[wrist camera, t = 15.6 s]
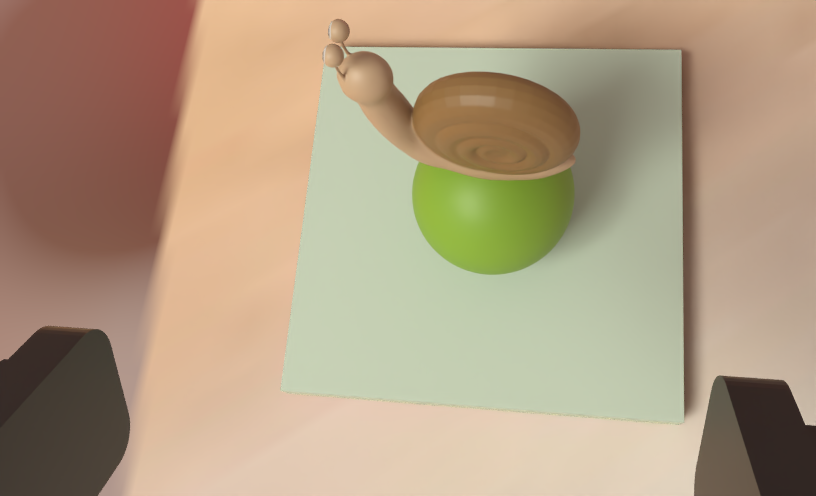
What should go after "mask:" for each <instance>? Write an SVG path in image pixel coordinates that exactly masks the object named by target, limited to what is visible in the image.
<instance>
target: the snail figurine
mask: <svg viewBox="0 0 816 496" xmlns="http://www.w3.org/2000/svg"><path fill="white" fill-rule="evenodd" d="M349 33H350V29H349V26H348V24H347V23H346V22H345V21H343V20H341V19H336V20H334V21H332V22H331V23H330V25H329V29H328V35H329V38H330V39H331V40H332V41H333V42H336V43H340V44H341V46H342V48H343V50H344V52H345V53H346V54H347V57H346V58H344V52H343V50H342V48H341V47H340V46H338V45H336V44H329V45H327V46H326V47H325V49H324V51H323V62H324V64H325V65H326V66H328V67H331V68H334V67H335V69H336V71H337V79H338V82H339V84H340V87H341V89H342V91H343V93H344V94H345V95H346V96H347V97H349V98H350V99H352V100H353V101H355V102H357V103H358V104H359V106H360V107H361V109H362V111H363V113H364V114H365V116H366V117H367V119H368V120H369V121H370V122H371V124H372V125H373V126H374V127H375V128H376V129H377V130H378V131H379V132H380V133H381V134H382V135H383V136H384V137H385V138H386V139H387V140H388V141H389V142H391V143H392V144H393V145H394V146H395V147H397V148H398V149H400V150H401V151H403V152H404V153H406V154H407V155H408V156H410V157H411V158H413V159H415V160H417V161H419V163H418V165H417V168H416V171H415V175H414V179H413V186H412V203H413V210H414V214H415V218H416V221H417V223H418V226H419V228H420V230H421V232H422V234H423V236H424V237H425V239H426V240H427V242H428V243H429V244H430V246H431V247H432V248H433V249H434V250H435V251H436V252H437V253H438V254H439V255H440V256H441V257H443V258H444V259H445V260H447V261H448V262H450V263H451V264H453V265H455V266H457V267H459V268H461V269H464V270H467V271H470V272H474V273H478V274H486V275H500V274H507V273H512V272H516V271H519V270H522V269H524V268H527V267H529V266H531V265H532V264H534V263H536V262H537V261H539V260H540V259H542V258H543V257H544V256H546V255H547V254H548V253H549V252H550V251H551V250H552V249H553V248H554V247H555V246H556V244H557V243H558V242H559V240H560V239H561V237H562V236H563V234H564V232H565V231H566V229H567V226H568V224H569V222H570V219H571V215H572V212H573V207H574V198H575V188H574V180H573V175H572V171H571V168H570V167H571V166H572V165H574V163H575V161H576V158H575V156H574V155H573V153H574V152H575V150H576V148H577V146H578V144H579V141H580V125H579V121H578V119H577V116H576V114H575V112H574V111H573V109H572V108H571V107H570V105H569V104H568V103H567V102H566V101H565V100H564V99H563V98H561V97H560V96H559V95H558V94H556V93H555V92H553V91H551V90H550V89H548V88H546V87H544V86H542V85H540V84H538V83H535V82H533V81H530V80H528V79H524V78H521V77H518V76H514V75H508V74H503V73H496V72H463V73H456V74H452V75H448V76H445V77H441V78H439V79H437V80H435V81H433V82H432V83H430V84H429V85H428V86H427V87H426V88H425V89H424V90H423V91H422V92H421V93H420V94H419V95H418V97H417V100H416V102H415V105H414V108H413V107H412V105H411V104H410V103H409V101H408V100H407V99H406V98H405V96H404V95H403V94H402V93H401V92H400V91H399V89H398V88H397V87H396V86H395V85H394V84H393V72H392V69H391V67H390V66H389V64H388V63H387V61H386V60H385V59H383V58H382V57H381V56H379V55H377V54H375V53H373V52H369V51H359V52H355V53H350V52H349V51H348V50H347V49H346V47H345V45H344V43H343V42H344V41H345V40H346V39H347V38H348V36H349ZM338 66H339V67H338Z"/></svg>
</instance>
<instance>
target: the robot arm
mask: <svg viewBox="0 0 816 496" xmlns="http://www.w3.org/2000/svg"><path fill="white" fill-rule="evenodd" d="M129 433H130V418H129V413H128V409H127V405H126V401H125V398H124V394H123V390H122V386H121V382H120V378H119V375H118V371H117V367H116V363H115V359H114V355H113V351H112V347H111V344H110V341H109V339H108V337H107V335H106V334H105V333H104V332H103V331H101V330H98V329H85V328H72V327H58V326H45V327H42V328H40V329H39V330H38V331H36V332H35V333H34V334H33V335H32V336H31V337H30V338H29V339H28V340H27V341H26V342H25V343H24V344H23V345H22V346H21V347H20V348H19V349H18V350H17V351H16V352H15V353H14V354H13V355H12V356H11V357H10V358H9V359H8V360H6V359H4V360H2V361H0V496H98V494H99V493H100V491H101V490H102V488H103V487H104V486H105V484H106V483H107V481H108V480H109V478H110V477H111V475H112V474H113V472H114V471H115V469H116V468H117V466H118V465H119V463H120V461H121V460H122V458H123V456H124V453H125V451H126V448H127V444H128V440H129ZM694 496H816V426H811V425H805V423H804V421H803V418H802V416H801V414H800V411H799V409H798V407H797V404H796V402H795V400H794V397H793V395H792V392H791V390H790V388H789V386H788V384H787V383H786V382H785V381H783V380H773V379H759V378H745V377H731V376H717V377H716V379H715V381H714V383H713V386H712V390H711V395H710V400H709V405H708V410H707V415H706V420H705V425H704V430H703V435H702V440H701V446H700V451H699V456H698V461H697V466H696V472H695V484H694Z"/></svg>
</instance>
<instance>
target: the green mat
mask: <svg viewBox="0 0 816 496" xmlns="http://www.w3.org/2000/svg"><path fill="white" fill-rule="evenodd" d="M341 48H342V47H341ZM346 49H347V50H348V51H349V52H350V53H355V52H359V51H369V52H373V53H375V54H377V55H379V56H381V57H382V58H383V59H385V60H386V61H387V63H388V64H389V66H390V67H391V69H392V72H393V84H394V85H395V86H396V87H397V88H398V89H399V91H400V92H401V93H402V94H403V95H404V96H405V98H406V99H407V100H408V101H409V103H410V104H411V105H412V107H413V108H414V105H415V102H416V100H417V97H418V95H419V94H420V93H421V92H422V91H423V90H424V89H425V88H426V87H427V86H428V85H429V84H430V83H432V82H433V81H435V80H437V79H439V78H441V77H445V76H448V75H452V74H456V73H463V72H496V73H503V74H508V75H514V76H518V77H521V78H524V79H528V80H530V81H533V82H535V83H538V84H540V85H542V86H544V87H546V88H548V89H550V90H551V91H553V92H555V93H556V94H558V95H559V96H560V97H561V98H563V99H564V100H565V101H566V102H567V103H568V104H569V105H570V107H571V108H572V109H573V111H574V112H575V114H576V116H577V119H578V121H579V125H580V141H579V144H578V146H577V148H576V150H575V152H574V153H573V155H574V156H575V158H576V161H575V163H574V165H572V166H571V167H570V168H571V171H572V175H573V180H574V188H575V198H574V207H573V212H572V215H571V219H570V222H569V224H568V226H567V229H566V231H565V232H564V234H563V236H562V237H561V239H560V240H559V242H558V243H557V244H556V246H555V247H554V248H553V249H552V250H551V251H550V252H549V253H548V254H547V255H546V256H544V257H543V258H542V259H540V260H539V261H537V262H536V263H534V264H532V265H531V266H529V267H527V268H524V269H522V270H519V271H516V272H512V273H507V274H500V275H486V274H478V273H474V272H470V271H467V270H464V269H461V268H459V267H457V266H455V265H453V264H451V263H450V262H448V261H447V260H445V259H444V258H443V257H441V256H440V255H439V254H438V253H437V252H436V251H435V250H434V249H433V248H432V247H431V246H430V244H429V243H428V242H427V240H426V239H425V237H424V236H423V234H422V232H421V230H420V228H419V226H418V223H417V221H416V218H415V214H414V210H413V203H412V186H413V179H414V175H415V171H416V168H417V165H418V163H419V161H417V160H415V159H413V158H411V157H410V156H408V155H407V154H406V153H404V152H403V151H401V150H400V149H398V148H397V147H395V146H394V145H393V144H392V143H391V142H389V141H388V140H387V139H386V138H385V137H384V136H383V135H382V134H381V133H380V132H379V131H378V130H377V129H376V128H375V127H374V126H373V125H372V124H371V122H370V121H369V120H368V119H367V117H366V116H365V114H364V113H363V111H362V109H361V107H360V106H359V104H358V103H357V102H355V101H353V100H352V99H350V98H349V97H347V96H346V95H345V94H344V93H343V91H342V89H341V87H340V84H339V82H338V79H337V71H336V69H335V67H334V68H331V67H328V66H326V65H325V64H324V68H323V75H322V83H321V90H320V98H319V105H318V113H317V120H316V128H315V135H314V143H313V150H312V158H311V165H310V173H309V180H308V188H307V195H306V203H305V210H304V218H303V225H302V233H301V240H300V248H299V255H298V263H297V270H296V278H295V285H294V293H293V300H292V308H291V315H290V323H289V330H288V338H287V345H286V353H285V360H284V368H283V375H282V383H281V391H283V392H286V393H290V394H302V395H315V396H327V397H340V398H352V399H364V400H377V401H389V402H402V403H414V404H427V405H439V406H452V407H464V408H477V409H489V410H502V411H514V412H527V413H539V414H552V415H564V416H576V417H589V418H601V419H614V420H626V421H639V422H651V423H664V424H676V425H679V424H682V423H684V335H683V196H682V57H681V50H658V49H541V48H425V47H346ZM342 50H343V48H342ZM343 52H344V50H343ZM346 57H347V54H346V53H345V52H344V58H346ZM338 67H339V66H338Z"/></svg>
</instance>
